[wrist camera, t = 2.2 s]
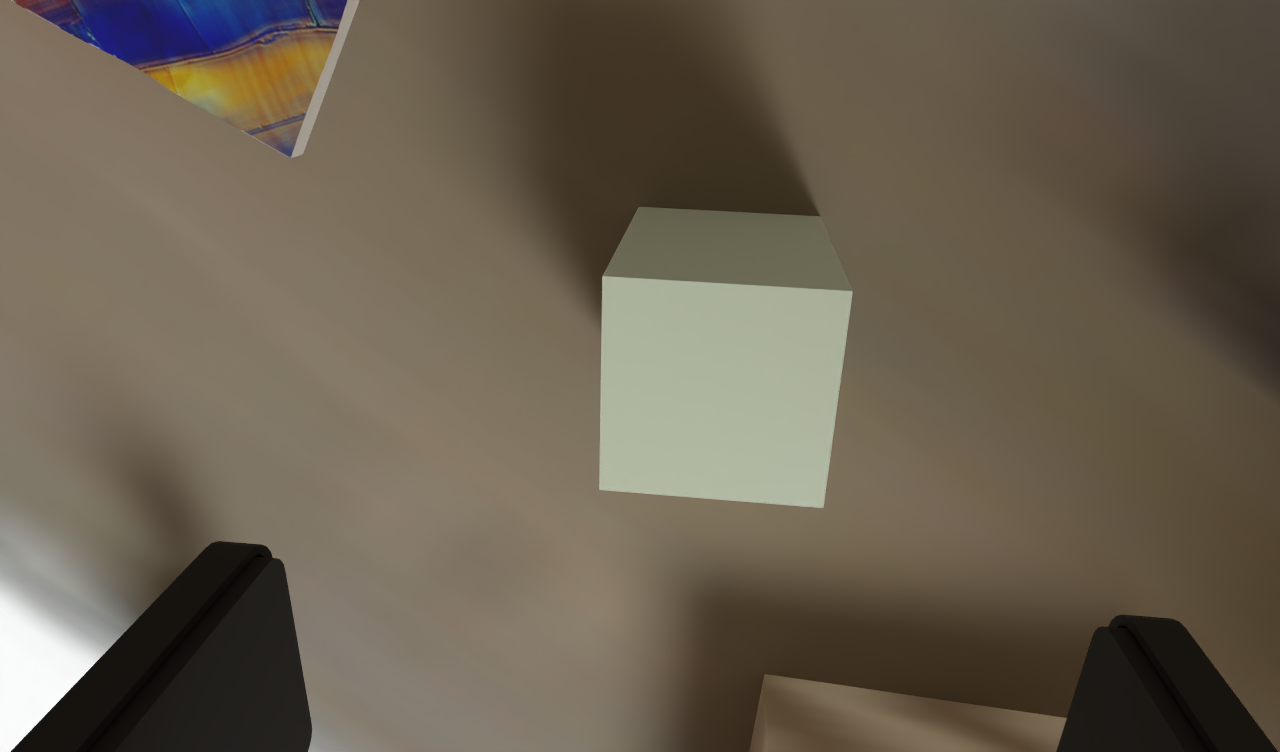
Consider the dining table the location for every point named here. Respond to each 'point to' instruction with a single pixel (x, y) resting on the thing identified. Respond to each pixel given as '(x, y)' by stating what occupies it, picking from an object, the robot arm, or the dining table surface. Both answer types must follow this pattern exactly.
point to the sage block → (722, 356)
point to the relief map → (223, 54)
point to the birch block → (889, 722)
